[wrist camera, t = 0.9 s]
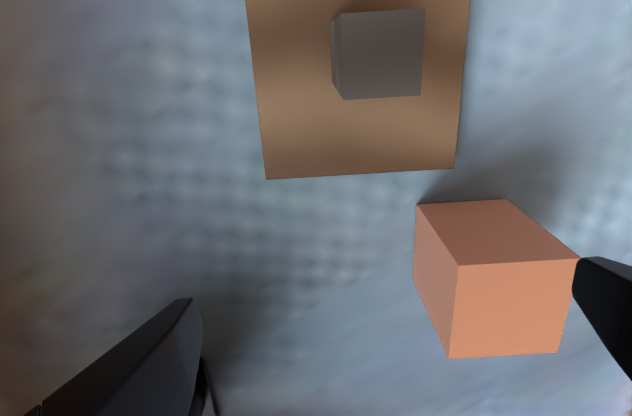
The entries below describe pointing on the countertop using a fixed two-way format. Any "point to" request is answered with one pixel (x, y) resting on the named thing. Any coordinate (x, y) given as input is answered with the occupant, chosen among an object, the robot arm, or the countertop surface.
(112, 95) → the countertop surface
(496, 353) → the salmon orange block
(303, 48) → the stand
